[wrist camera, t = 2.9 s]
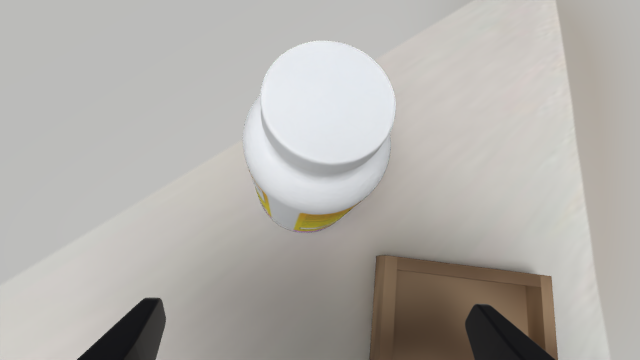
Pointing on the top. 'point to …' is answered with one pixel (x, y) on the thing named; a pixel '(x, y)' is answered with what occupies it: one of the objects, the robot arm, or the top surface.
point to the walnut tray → (451, 307)
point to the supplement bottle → (319, 134)
